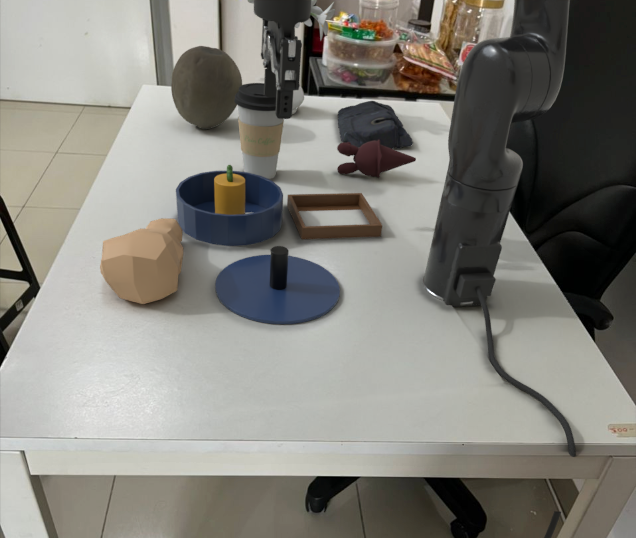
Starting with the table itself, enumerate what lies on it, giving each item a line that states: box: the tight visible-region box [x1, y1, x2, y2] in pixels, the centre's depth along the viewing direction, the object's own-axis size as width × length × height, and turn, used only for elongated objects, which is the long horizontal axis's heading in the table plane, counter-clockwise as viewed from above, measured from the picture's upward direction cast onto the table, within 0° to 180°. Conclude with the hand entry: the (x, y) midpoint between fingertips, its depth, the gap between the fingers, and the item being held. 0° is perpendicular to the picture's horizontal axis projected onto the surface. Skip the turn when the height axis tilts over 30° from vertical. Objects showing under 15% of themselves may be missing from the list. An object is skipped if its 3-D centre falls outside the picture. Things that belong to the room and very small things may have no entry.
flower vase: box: [247, 0, 336, 115], centre depth 140 cm, size 13×18×25 cm
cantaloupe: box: [170, 45, 243, 130], centre depth 132 cm, size 14×14×15 cm
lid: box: [214, 245, 341, 325], centre depth 88 cm, size 17×17×7 cm
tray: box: [286, 192, 384, 240], centre depth 107 cm, size 12×13×2 cm
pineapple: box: [214, 164, 246, 215], centre depth 101 cm, size 5×5×9 cm
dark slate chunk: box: [337, 100, 414, 150], centre depth 141 cm, size 15×22×5 cm
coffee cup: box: [234, 82, 285, 180], centre depth 115 cm, size 9×9×15 cm
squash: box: [99, 217, 184, 305], centre depth 89 cm, size 11×20×9 cm, turn 0°
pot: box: [175, 170, 284, 247], centre depth 103 cm, size 17×17×6 cm
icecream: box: [336, 140, 417, 179], centre depth 122 cm, size 7×7×15 cm
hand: (277, 106), depth 93 cm, fingers open, 8 cm apart
